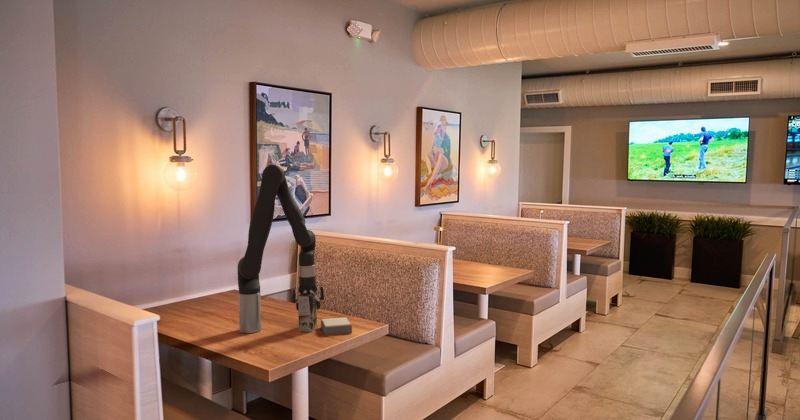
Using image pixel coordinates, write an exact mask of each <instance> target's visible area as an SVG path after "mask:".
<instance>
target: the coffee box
mask: <svg viewBox="0 0 800 420" xmlns="http://www.w3.org/2000/svg"><path fill="white" fill-rule="evenodd" d="M317 293H318V292H317V291H316V292H315V294H316V295H317V296H318V294H317ZM297 298H298V310H297V311H298V313H297V314H298V332H308V333H312V332H313V331H315V329H316V328H317V327H318V310H317V305H316V301H317V300H316V298H315V295H314V294H305V295H301V294H300V293H299V294H298V296H297Z"/></svg>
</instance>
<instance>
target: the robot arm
mask: <svg viewBox="0 0 800 420" xmlns="http://www.w3.org/2000/svg"><path fill="white" fill-rule="evenodd" d="M285 174H286V173H285V171H284V169H283V168H282V167H280V166H279V165H277V164H269V165H267V166H266V167H265V168H264V169H263V170H262V173H261V179H260V186H259V187H260V188H259V192H258V196H257V199H256V201H255V204H254V208H253V211H252V213H251V218H250V221H249V227H248V234H247V247H246V249H245V254H244V256H243V257H241V258H240V260H239V261H238V263H237V285H238V303H239V305H238V307H239V308H238V309H239V310H238V313H239V316H238V317H239V318H238V319H239V320H238V321H239V322H238V323H239V333H240V334H255V333H258V332H260V331H261V330H262V314H261V313H262V311H261V302H262V301H261V283H260V273H261V270H262V263H263V256H264V251H265V247H266V244H267V241H268V238H269V235H270V233H271V228H272V225H273V220H274V216H275V206H276V203H275V202H276V197H277V199H278V201H279V203H280V207H282V208H281V209H282V211H283V214H284V215H285V218H286V220H287V222H288V224H289V225H290V227H291V231H292V235H293V238H294V240H295V242H296V243H297V245H298V246H300V252H299V253H298V273H297V274H298V288H294V287H292V288H291V302H292V303H295V308H296V311H298V297H297V298H296V294H297V293H299V295H300V294H301V295H305V294H314V295H315V298H316V300H317V301H316V305H317V311H318V310H320V308H321V301H323V300H325V294H324V287H323V285H320V286H317V280H316V279H317V277H316V264H315V263H316V262H315V261H316V260H315V251H316V235H315V233H314V232H313V231H312V230H311V229H307V225H306V218H305V216H304V215H303V212H302V211H301V209H300V207H299V205H298V203H297V201H296V200H295V198H294V196H293V194H292V192H291V189H290V186H289V184H288V182H287V177H286V175H285ZM317 291H318V292H319V294H320V296H318V294H317V295H316V294H315V292H317Z"/></svg>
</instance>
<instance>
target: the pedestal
mask: <svg viewBox="0 0 800 420" xmlns="http://www.w3.org/2000/svg"><path fill="white" fill-rule="evenodd" d="M320 329H321V331H322V333H323V335H324V336H335V335H345V334H346V335H347V334H353V326H352V324H351V322H350V320H349V319H348V318H347V317H346V316H345V317H334V318H322V319H321V320H320Z"/></svg>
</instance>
